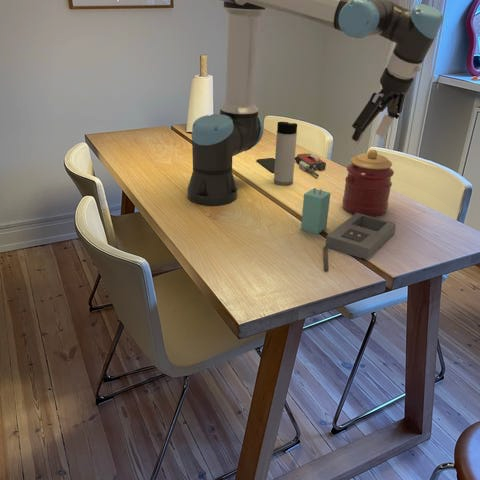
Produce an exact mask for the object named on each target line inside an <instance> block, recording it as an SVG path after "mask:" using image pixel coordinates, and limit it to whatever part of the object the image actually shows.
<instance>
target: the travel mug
mask: <svg viewBox="0 0 480 480" xmlns="http://www.w3.org/2000/svg"><path fill="white" fill-rule="evenodd" d="M276 129H277V130H276V140H275V141H276V142H275V156H274V159H275V170H274V173H273V182H274V183H275V184H277V185H279V186H280V185H281V186H290V185H292V184H293V183H294V172H295V162H296V160H295V157H296V149H297V136H298V135H297V134H298V123H295V122H293V123H291V122H289V121H277V127H276Z"/></svg>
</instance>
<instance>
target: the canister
mask: <svg viewBox="0 0 480 480" xmlns="http://www.w3.org/2000/svg"><path fill="white" fill-rule="evenodd" d="M350 162H351V163H349V164H348V165H347V167H346V171H347V176H346V177H345V184H344V191H343V192H344V193H343V196H342V208H343V209H344V210H345V211H347V212H348V213H351V214H353V215H354V214H355V213H360V214H364V215H367V216H371V217H378V216H383V215H384V214H385V213H386V212H387V209H388V207H389V198H390V194H391V193H390V192H391V187H392V186H393V183H392V181H391V180H392V177H393V176H394V175H395V174H394V173H395V171H394V170H393V169H392V166H393V162H392V161H391V160H389V159H388V158H387V156H384V155H382V154H378V151H377V150H376V149H369V150H368V152H367V153H359V154H357V155H356V156H354V157H352V158H351V159H350Z"/></svg>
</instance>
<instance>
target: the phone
mask: <svg viewBox="0 0 480 480" xmlns="http://www.w3.org/2000/svg"><path fill="white" fill-rule="evenodd" d="M255 162H256V163H258V165H260V166H261V167H263V168H264V169H265V170H267V171H268V172H270V173H271V174H274V170H275V157H268V158H266V157H264V158H257V159H256V161H255Z"/></svg>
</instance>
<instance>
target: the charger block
mask: <svg viewBox="0 0 480 480" xmlns="http://www.w3.org/2000/svg"><path fill="white" fill-rule="evenodd" d="M330 199H331V192H329V191H324V190H322V188H321V189H317V188H316V187H315V188H314V187H313V188H312V189H310V190H308V191H307V192H305V193H303V203H302V214H301V225H300V229H301V230H303V231H304V232H305V231H306V232H309V233H312V234H315V235H319V234H320V233H322V232H323V231H324V230H326V229H327V228H328V227H327V225H328V217H329V210H330V201H331V200H330ZM325 228H326V229H325ZM322 230H323V231H322Z"/></svg>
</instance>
